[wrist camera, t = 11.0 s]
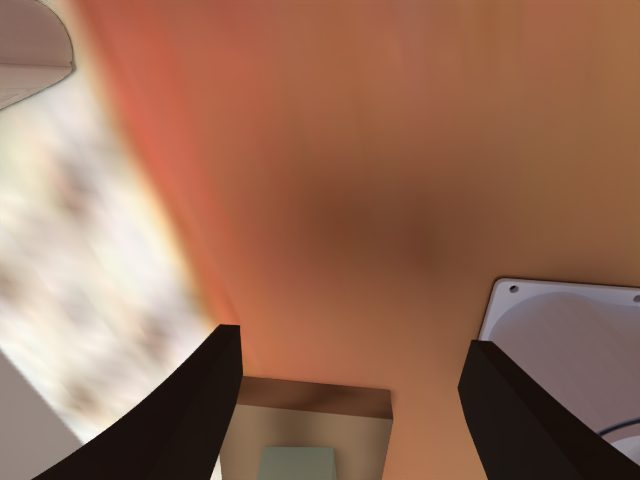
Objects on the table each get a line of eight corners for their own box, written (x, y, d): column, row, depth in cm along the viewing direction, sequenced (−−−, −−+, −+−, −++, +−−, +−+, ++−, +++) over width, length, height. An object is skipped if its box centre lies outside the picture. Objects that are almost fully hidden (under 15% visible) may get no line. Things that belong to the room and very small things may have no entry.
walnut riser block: (388, 384, 26) (393, 419, 24) (370, 485, 31) (372, 524, 29) (227, 369, 27) (214, 402, 24) (235, 470, 32) (225, 507, 29)
